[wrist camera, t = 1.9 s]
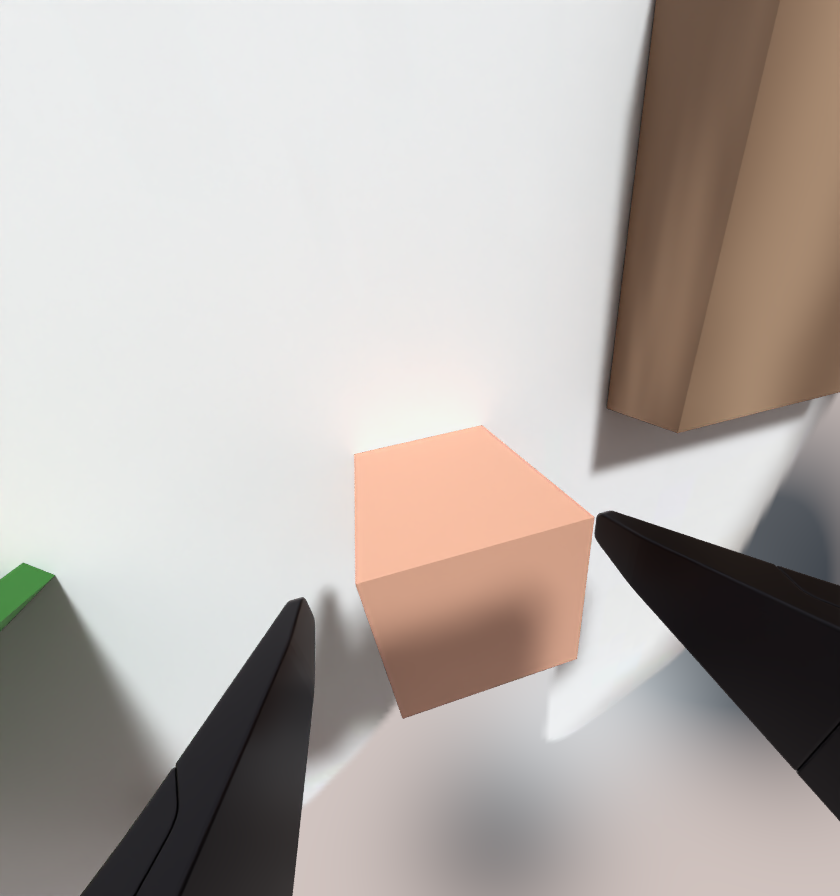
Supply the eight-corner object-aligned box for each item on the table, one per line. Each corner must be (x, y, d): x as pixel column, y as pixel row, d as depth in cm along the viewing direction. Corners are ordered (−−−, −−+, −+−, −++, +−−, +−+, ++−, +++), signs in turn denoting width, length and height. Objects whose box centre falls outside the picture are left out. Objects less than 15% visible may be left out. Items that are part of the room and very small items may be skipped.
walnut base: (1011, -60, 9) (1306, -230, 6) (834, 355, 14) (950, 364, 11) (662, -55, 7) (844, -274, 5) (606, 408, 12) (677, 433, 10)
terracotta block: (481, 424, 12) (594, 517, 6) (488, 524, 14) (576, 659, 8) (354, 453, 11) (355, 584, 6) (382, 553, 13) (402, 719, 8)
